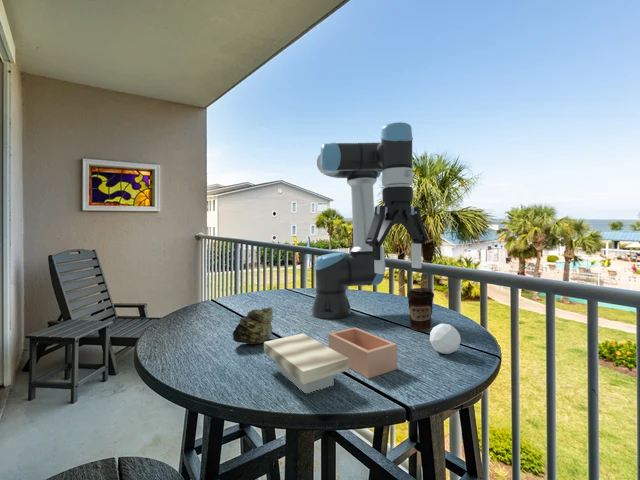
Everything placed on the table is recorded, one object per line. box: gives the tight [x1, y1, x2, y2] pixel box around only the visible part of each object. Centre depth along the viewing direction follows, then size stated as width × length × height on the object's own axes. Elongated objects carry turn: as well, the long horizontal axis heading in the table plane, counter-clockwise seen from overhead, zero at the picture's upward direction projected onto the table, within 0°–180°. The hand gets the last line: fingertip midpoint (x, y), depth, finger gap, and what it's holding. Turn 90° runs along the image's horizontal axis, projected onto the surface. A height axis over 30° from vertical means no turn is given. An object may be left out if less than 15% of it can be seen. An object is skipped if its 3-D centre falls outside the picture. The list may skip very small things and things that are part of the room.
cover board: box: [263, 332, 350, 384], centre depth 76 cm, size 20×11×2 cm, turn 32°
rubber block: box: [276, 362, 335, 394], centre depth 77 cm, size 14×7×4 cm, turn 32°
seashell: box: [232, 307, 274, 345], centre depth 101 cm, size 11×11×10 cm
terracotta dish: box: [328, 327, 398, 380], centre depth 84 cm, size 16×9×6 cm, turn 32°
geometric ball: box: [429, 323, 461, 355], centre depth 89 cm, size 8×8×8 cm
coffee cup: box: [407, 287, 435, 332], centre depth 108 cm, size 9×8×13 cm
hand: (398, 270), depth 85 cm, fingers open, 13 cm apart
